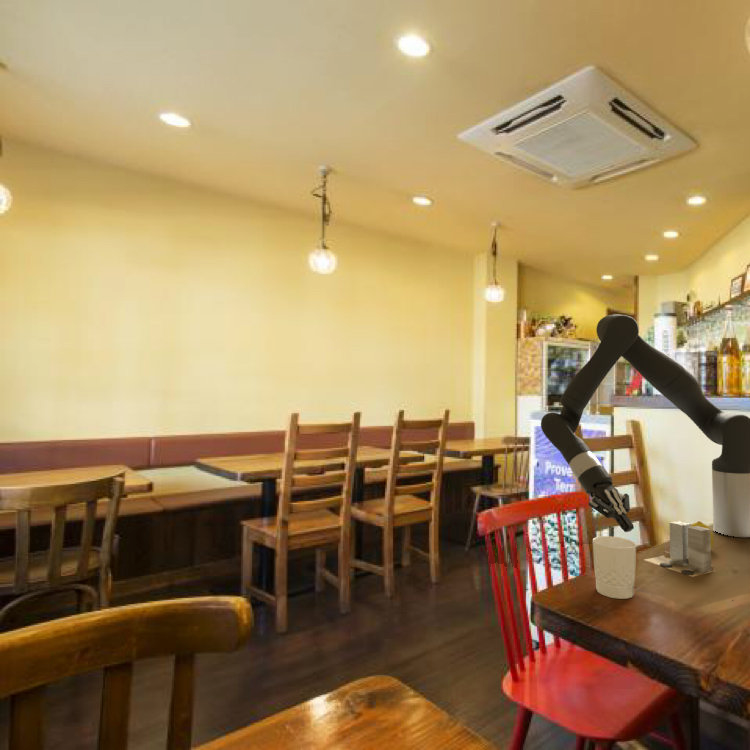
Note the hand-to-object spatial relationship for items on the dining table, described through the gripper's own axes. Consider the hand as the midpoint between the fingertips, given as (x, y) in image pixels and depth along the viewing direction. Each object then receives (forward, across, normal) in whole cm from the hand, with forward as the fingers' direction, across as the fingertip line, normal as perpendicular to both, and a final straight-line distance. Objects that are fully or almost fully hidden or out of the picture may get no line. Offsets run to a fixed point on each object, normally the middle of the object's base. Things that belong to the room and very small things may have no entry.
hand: (629, 530), depth 127 cm
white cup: (+15, -24, -7) cm, 29 cm away
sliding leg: (+12, 0, -6) cm, 14 cm away
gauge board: (+13, -1, -6) cm, 14 cm away
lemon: (+10, +14, -2) cm, 17 cm away
